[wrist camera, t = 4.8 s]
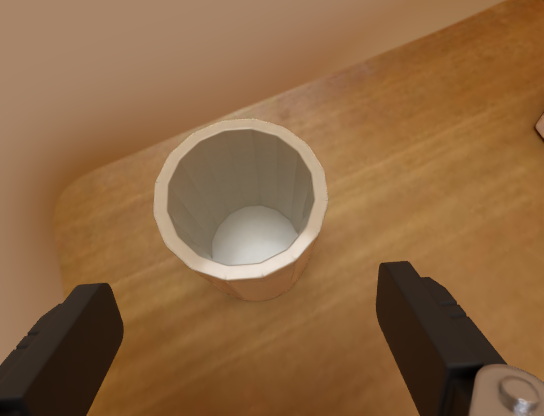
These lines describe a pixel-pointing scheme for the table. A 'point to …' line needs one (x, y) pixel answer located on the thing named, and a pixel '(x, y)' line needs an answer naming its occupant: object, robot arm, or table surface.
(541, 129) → the jar
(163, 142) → the table surface
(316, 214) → the tan hollow cylinder
